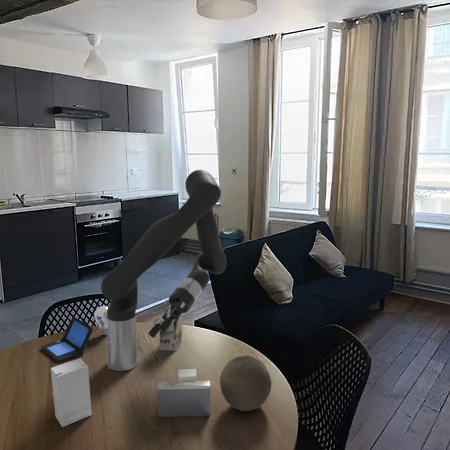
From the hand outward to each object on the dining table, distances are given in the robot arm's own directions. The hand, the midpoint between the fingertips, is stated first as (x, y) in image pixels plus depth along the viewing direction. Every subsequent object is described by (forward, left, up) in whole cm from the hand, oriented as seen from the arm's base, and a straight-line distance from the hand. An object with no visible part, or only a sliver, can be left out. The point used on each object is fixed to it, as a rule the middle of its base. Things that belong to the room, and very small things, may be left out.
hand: (155, 333), depth 122 cm
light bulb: (-25, +38, -17) cm, 49 cm away
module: (+10, -10, -17) cm, 22 cm away
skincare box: (-21, -14, -17) cm, 31 cm away
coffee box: (+2, +28, -17) cm, 33 cm away
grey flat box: (+9, -14, -17) cm, 24 cm away
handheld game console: (-36, +26, -18) cm, 47 cm away
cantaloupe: (+26, -13, -17) cm, 34 cm away
